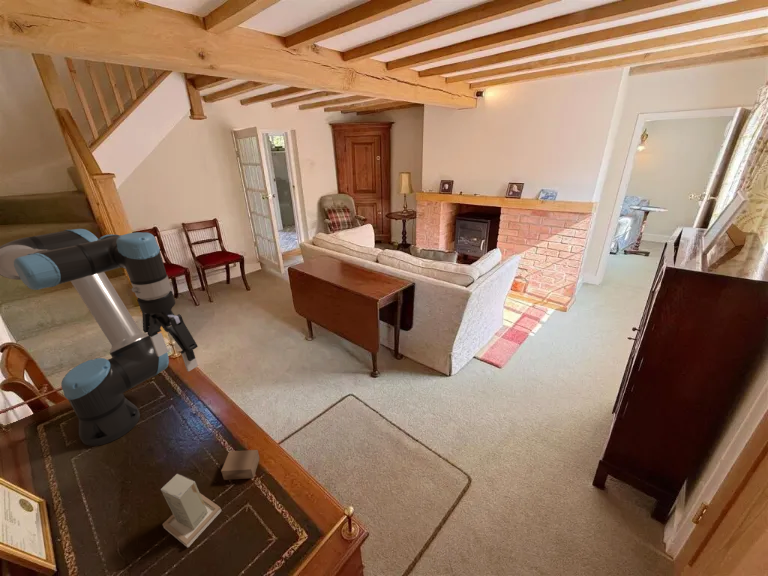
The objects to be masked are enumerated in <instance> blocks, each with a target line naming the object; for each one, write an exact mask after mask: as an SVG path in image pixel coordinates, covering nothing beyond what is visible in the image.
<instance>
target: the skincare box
mask: <svg viewBox="0 0 768 576" xmlns="http://www.w3.org/2000/svg"><path fill="white" fill-rule="evenodd" d="M160 491H161V494H162V495H163V497H164V499H165V501H166V504H167V506H168V507H169V509H170V511H171V513H172V514H173V515H174V517H175V519H176V521H178V522H179V523H181V524H183V525H185V526H187V527H189V528H191V529H193V530H194V529H195V528H196V527H197V526H198V524H199V523H200V522H201V521H202V520H203V518H204V517H205V516H206V515H207V513H208V511H207V509H206V507H205V504H204V502H203V500H202V497H201V495H200V493H201V492H200V491H199V488H198V485H197V483H196V481H195V480H193V479H191V478H189V477H187V476H184V475H182V474H179V473H176V474H175V475H174V476H172V478H171V479H169V481H168V482H166V484H164V485H163V486H162V488H160Z"/></svg>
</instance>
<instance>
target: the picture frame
mask: <svg viewBox="0 0 768 576" xmlns="http://www.w3.org/2000/svg"><path fill="white" fill-rule="evenodd" d="M199 493H200V495H201V497H202V500H203V502H204V504H205V507H206V509H207V511H208V513H207V515H206V516H205V517H204V518H203V520H202V521H201V522H200V523H199V524H198V526H197V527H196V528H195V529H194V530H193V529H191V528H189V527H187V526H185V525H183V524H181V523H179V522H178V521H176V519H175V517H174V515H173V513H172V515H170V516H169V518H168V519H166V520H165V521H164V522H163V523H162V527H163V529H165V531H167V532H168V533H169V534H171V535H172V536H173V537H174V538H175V539H177V540H178V541H179V542H180V543H181V544H183V545H184V546H185V547H186V548H190V546H191V545H192V544H193V543H194V542H195V540H196V539H198V538H199V536H200V535H202V533H203V532H204V531H205V530H206V528H207V527H209V525H210V524H211V523H212V522H213V521H214V520H215V519H216V518H217V517H218V515H219V514H220V513H221V512H222V509H221V507H220V506H219V505H218V504H216V503H215V502H213V501H212V500H211V499H209V498H208V497H206V496H205V495H204V494H202V493H201V492H199Z"/></svg>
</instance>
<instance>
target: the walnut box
mask: <svg viewBox="0 0 768 576" xmlns="http://www.w3.org/2000/svg"><path fill="white" fill-rule="evenodd" d="M259 462H260V455H259V449H249V450H233V451H232V450H231V451H228V454H227V456H226V458H225V461H224V463H223V465H222V468H221V470H220V472H221V474H222V478H223V480H224V481H229V480H230V481H231V480H241V479H243V480H245V479H254V478H255V475H256V471H257V468H258V465H259Z"/></svg>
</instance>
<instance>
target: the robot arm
mask: <svg viewBox="0 0 768 576" xmlns="http://www.w3.org/2000/svg"><path fill="white" fill-rule="evenodd" d="M119 268H122V269H124V270H125V271H126V274H127V275H128V279H129V281H130V283H131V286H132V288H131V291H132V293H134V294H135V297H136V298H137V303H138V307H139V308H140V311H141V314H142V317H141V318H142V331H143V332H144V333H143V332H142V331H141V329H140V328H139V326H138V324H137V322H136V321H135V319H134V318H133V316H132V314H131V313H130V311H129V310H128V307H126V305H125V304H124V301H123V300H122V298H121V297H120V295H119V293H118V292H117V290H116V289H115V287H114V285H113V284H112V282H111V281H110V279H109V278H108V276H107V274H106V272H109V271H112V270H116V269H119ZM166 271H167V270H166V267H165V264H164V261H163V258H162V255H161V248H160V246H159V245H158V242H157V240H156V238H155V235H153V234H152V233H150V232H143V231H142V232H139V231H138V232H137V231H136V232H128V233H126V234H122V235H121V234H120V235H119V234H112V233H111V234H105V235H103V236H100V237H99V238H98V237H97V236H96V234H94V233H92V232H91V231H90V230H88V229H85V228H74V229H64V230H61V231H57V232H56V231H55V232H50V233H45V234H38V235H34V236H27V237H22V238H18V239H14V240H11V241H9V242H6V243H5V244H2V245H0V277H1V276H2V277H4V278H7V279H10V280H16V281H17V280H19V281H22V283H23V285H25V286H27V288H28V289H30V290H32V291H33V290H34V291H36V290H42V289H46V288H53V287H56V286H58V285H62V284H65V283H68V282H71V284H72V286H73V288H75V290H76V292H77V293H78V295H79V296H80V298H81V300H82V301H83V303H84V305H85V306H86V308H87V310H88V311H89V312H90V314H91V316H92V317H93V319H94V320H95V322H96V323H97V325H98V326H99V328H100V329H101V331H102V333H103V334H104V336H105V338H106V339H107V340H108V342H109V344H110V345H111V348H110V350H109V355H110V356H111V358H108V359H107V358H105V357H103V358H102V357H97V358H94V359H88V360H85V361H84V362H82V363H79V364H78V365H76V366H74V367H73V368H72V369H71V370H69V371H68V372H67V373H66V374H65V375H64V377H63V378H62V380H61V384H60V386H61V389H62V392H63V396H64V397H65V398H66V399H67V400H68V402H69V404H70V406H71V408H72V409H73V411H74V413H75V415H76V417H77V418H78V437H79V439H80V440H81V442H82V443H83V444H84V445H86V446H90V447H91V446H92V447H94V446H95V447H97V446H101V445H106V444H109V443H112V442H113V441H116V440H118V439H119V438H121V437H123V436H125V435H126V434H127V433H129V432H131V430H132V429H133V428H134V427H135V426H136V425H137V423H138V422H139V421H140V417H141V414H140V411H139V408H138V407H137V405H135V404H134V403H133V402H132V401H130V400H128V398H126V397H125V394H124V393H125V392H127V391H129V390H131V389H132V388H134V387H136V386H138V385H140V384H142V383H144V382H146V381H147V380H149V379H152V378H153V377H155V376H157V375H158V374H160V373H161V372H163V371H165V370H167V368H168V366H169V363H170V361H169V360H170V358H169V354H168V353H169V351H168V347H167V344H166V342H165V339H164V336H163V333H162V329H163V330H164V331H165V332H166V333H169V334H170V335H171V337H172V339H173V340H174V341H175V342H176V344H177V345H178V346H179V348H180V349H181V350H180V354H181V356H182V360H183V362H184V366H185V369H186V372H190V371H192V370H193V369H196V368H197V367H198V366H199V365H198V361H197V359H196V358H197V357H196V355H195V352H194V351H195V349H197V348H198V347H199V346H198V344H197V342H196V340H195V339H194V337H193V335H192V334H191V332H190V330H189V329H188V327H187V325H186V323H185V322H184V319H183V317H182V314H180V313H178V314H176V315H175V313H174V312H173V310H172V309H173V307H175V305H176V300H175V296H174V293H173V291H172V286H171V283H170V279H169V276H168V273H167V272H166ZM161 328H162V329H161Z"/></svg>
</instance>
